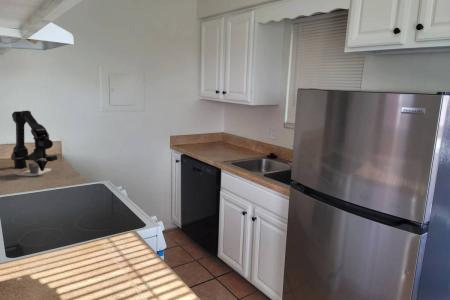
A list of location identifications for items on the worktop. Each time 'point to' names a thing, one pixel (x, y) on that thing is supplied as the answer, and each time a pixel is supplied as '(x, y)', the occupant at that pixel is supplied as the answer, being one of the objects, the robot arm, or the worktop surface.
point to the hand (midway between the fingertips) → (42, 170)
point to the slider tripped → (34, 169)
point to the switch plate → (27, 173)
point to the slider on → (32, 164)
